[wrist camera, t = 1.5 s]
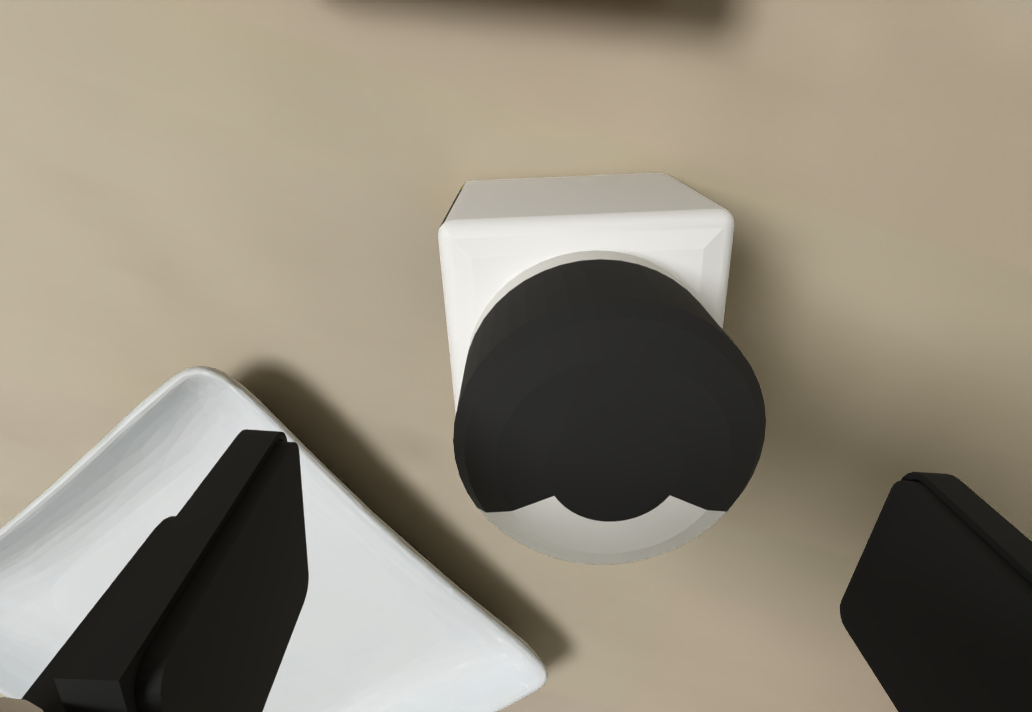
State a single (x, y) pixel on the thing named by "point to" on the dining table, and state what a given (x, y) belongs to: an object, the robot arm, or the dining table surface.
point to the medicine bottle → (596, 363)
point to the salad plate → (331, 565)
